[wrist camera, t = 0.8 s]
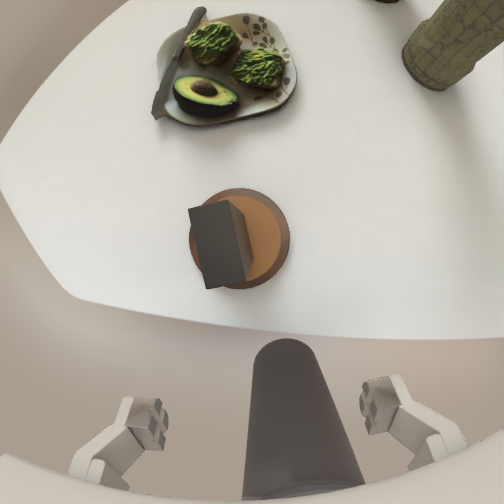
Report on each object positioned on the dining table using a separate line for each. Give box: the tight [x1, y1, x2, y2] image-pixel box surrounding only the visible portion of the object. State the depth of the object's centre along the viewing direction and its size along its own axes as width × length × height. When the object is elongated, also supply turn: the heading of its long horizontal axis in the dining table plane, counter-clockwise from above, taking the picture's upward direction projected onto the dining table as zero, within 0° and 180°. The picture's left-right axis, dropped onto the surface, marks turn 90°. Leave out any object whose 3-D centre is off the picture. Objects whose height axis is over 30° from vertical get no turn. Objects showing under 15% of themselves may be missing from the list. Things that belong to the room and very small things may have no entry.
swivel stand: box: [189, 188, 290, 289], centre depth 33 cm, size 11×11×1 cm
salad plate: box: [151, 7, 297, 126], centre depth 30 cm, size 19×18×5 cm
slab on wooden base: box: [188, 196, 281, 289], centre depth 25 cm, size 9×9×15 cm
